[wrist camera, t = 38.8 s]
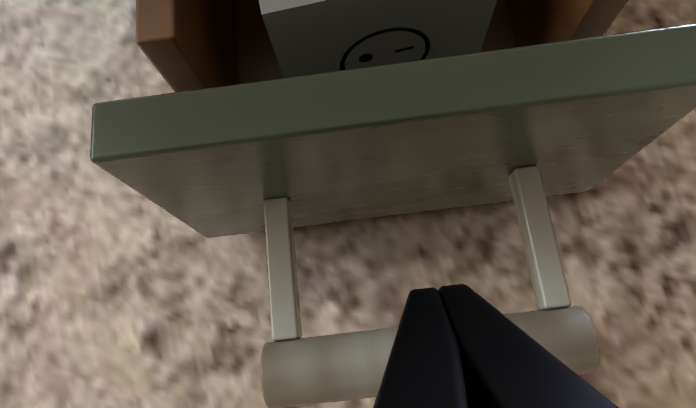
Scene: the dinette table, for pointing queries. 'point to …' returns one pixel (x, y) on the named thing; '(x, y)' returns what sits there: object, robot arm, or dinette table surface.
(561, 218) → the dinette table surface
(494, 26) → the drawer
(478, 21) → the dice cube
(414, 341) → the robot arm
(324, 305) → the dinette table surface
